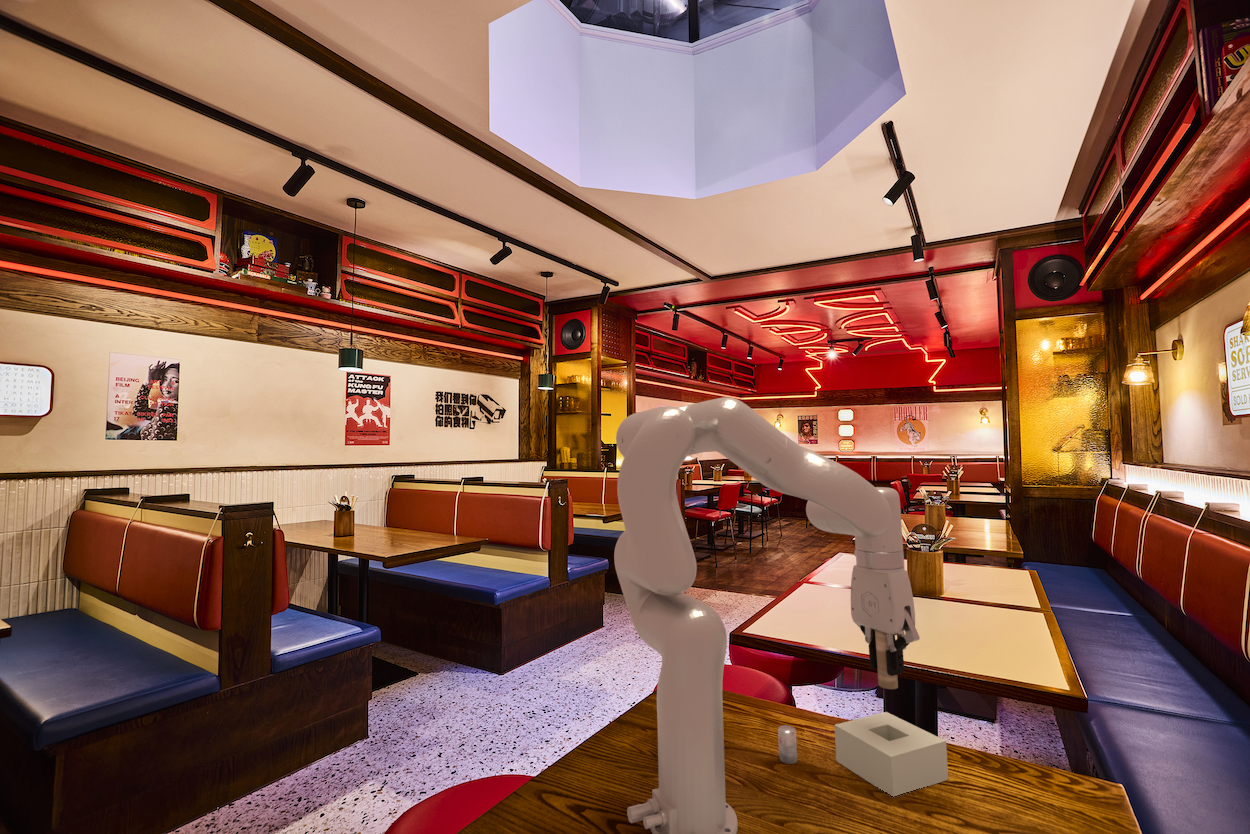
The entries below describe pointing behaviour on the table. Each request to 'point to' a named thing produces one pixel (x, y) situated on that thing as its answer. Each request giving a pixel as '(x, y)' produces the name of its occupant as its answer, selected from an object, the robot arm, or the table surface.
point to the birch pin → (883, 662)
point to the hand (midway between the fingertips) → (886, 669)
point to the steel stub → (787, 744)
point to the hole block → (891, 753)
